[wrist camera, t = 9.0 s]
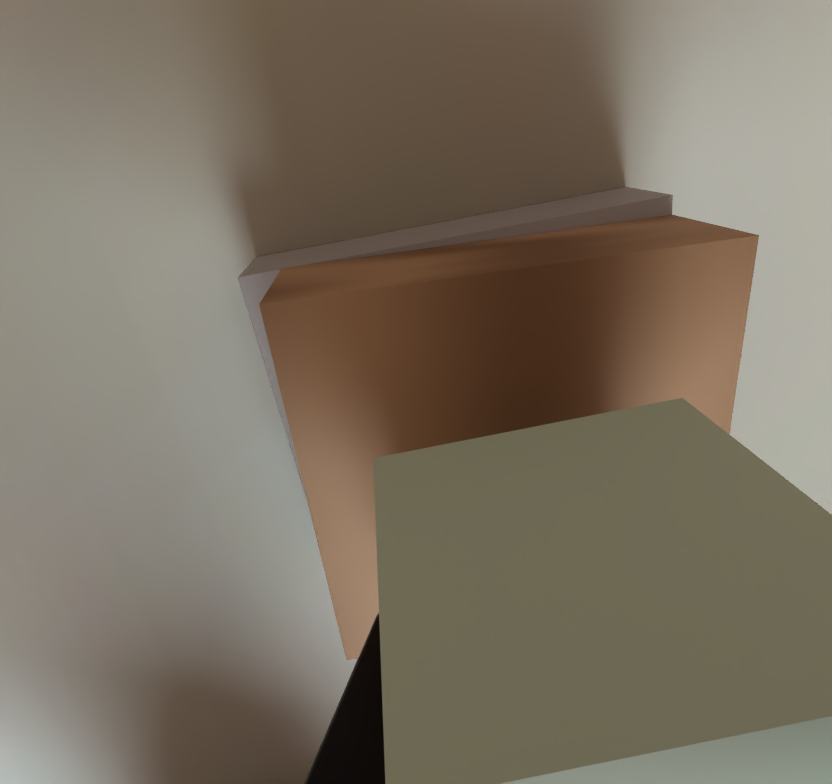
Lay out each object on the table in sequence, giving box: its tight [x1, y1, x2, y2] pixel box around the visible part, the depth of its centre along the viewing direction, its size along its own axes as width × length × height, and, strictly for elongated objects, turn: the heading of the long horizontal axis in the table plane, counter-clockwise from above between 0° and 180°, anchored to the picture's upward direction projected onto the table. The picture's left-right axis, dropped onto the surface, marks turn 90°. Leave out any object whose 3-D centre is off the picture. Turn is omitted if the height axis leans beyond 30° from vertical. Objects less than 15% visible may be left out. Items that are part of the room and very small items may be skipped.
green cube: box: [373, 398, 832, 784], centre depth 7 cm, size 5×5×5 cm
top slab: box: [259, 215, 759, 660], centre depth 13 cm, size 9×9×3 cm
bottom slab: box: [238, 187, 673, 498], centre depth 16 cm, size 10×10×3 cm
